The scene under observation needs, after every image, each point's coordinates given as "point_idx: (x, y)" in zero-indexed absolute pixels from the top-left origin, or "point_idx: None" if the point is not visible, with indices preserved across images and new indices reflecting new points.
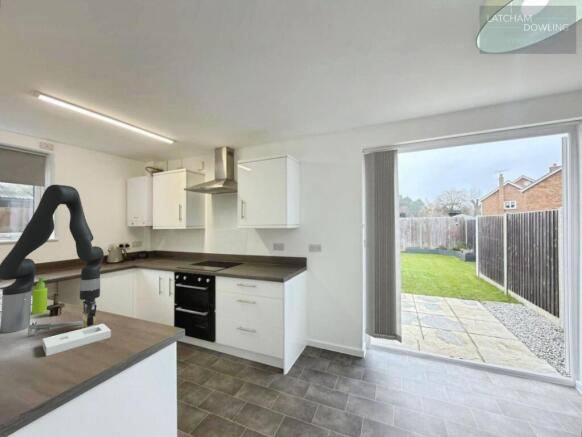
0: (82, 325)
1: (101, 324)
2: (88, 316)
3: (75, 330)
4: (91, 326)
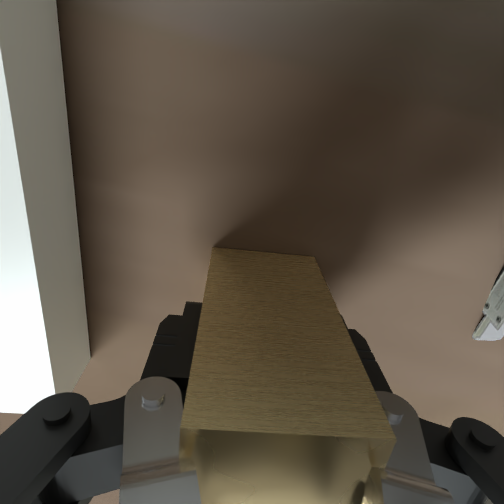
0: (321, 277)
1: (31, 396)
2: (40, 416)
3: (9, 132)
4: (39, 315)
